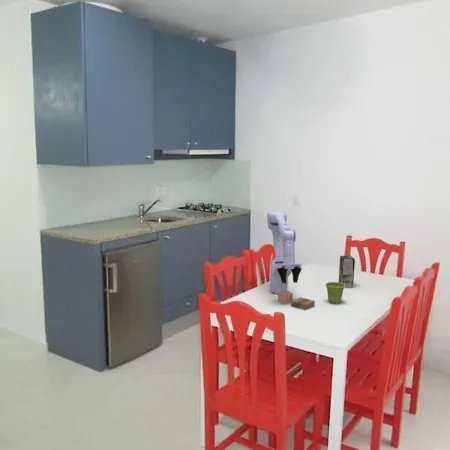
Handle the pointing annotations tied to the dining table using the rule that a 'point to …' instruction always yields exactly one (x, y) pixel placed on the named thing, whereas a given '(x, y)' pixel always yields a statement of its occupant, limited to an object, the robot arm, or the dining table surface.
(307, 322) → the dining table surface
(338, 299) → the plant pot
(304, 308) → the walnut block
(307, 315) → the dining table surface
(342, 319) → the dining table surface
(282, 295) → the terracotta cube
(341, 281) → the coffee box
